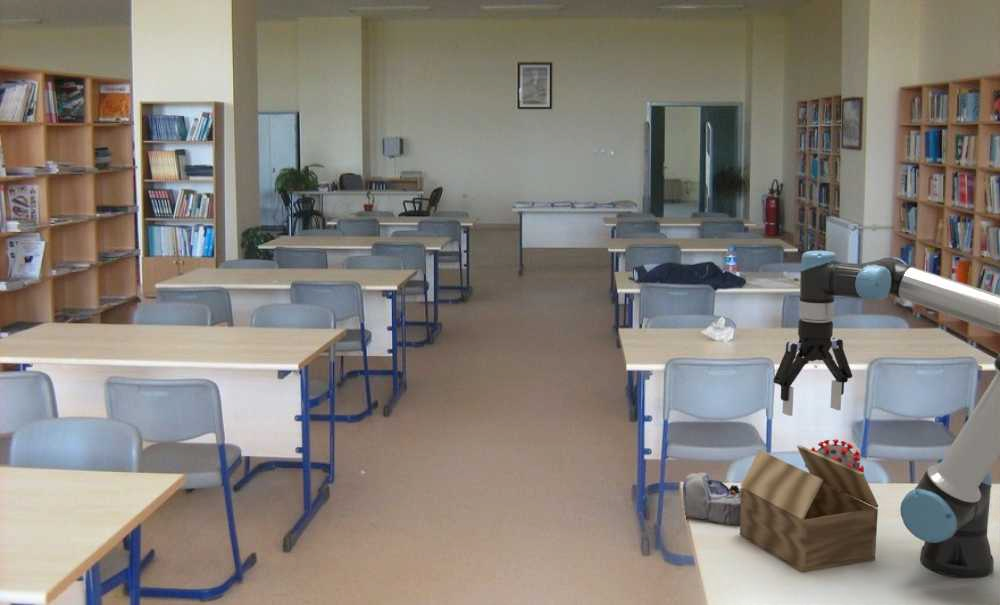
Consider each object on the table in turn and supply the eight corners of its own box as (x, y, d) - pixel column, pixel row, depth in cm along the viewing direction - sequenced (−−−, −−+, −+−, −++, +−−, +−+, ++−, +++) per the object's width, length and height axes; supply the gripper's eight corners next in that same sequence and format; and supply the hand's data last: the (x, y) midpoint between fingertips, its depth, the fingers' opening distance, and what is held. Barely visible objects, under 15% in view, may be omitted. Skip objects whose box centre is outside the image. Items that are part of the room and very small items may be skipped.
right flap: (876, 508, 247) (878, 506, 247) (861, 474, 244) (863, 472, 244) (811, 477, 268) (813, 476, 268) (796, 446, 265) (798, 444, 265)
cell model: (684, 465, 282) (764, 472, 278) (682, 505, 284) (761, 513, 280) (682, 481, 269) (765, 488, 265) (680, 523, 271) (763, 531, 267)
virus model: (873, 500, 288) (876, 445, 285) (822, 505, 284) (825, 449, 281) (842, 483, 301) (845, 430, 299) (793, 487, 298) (796, 434, 295)
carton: (874, 559, 249) (877, 509, 247) (801, 572, 241) (804, 520, 239) (808, 524, 271) (810, 477, 269) (739, 535, 263) (741, 487, 261)
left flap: (823, 479, 240) (821, 478, 240) (803, 519, 240) (801, 518, 240) (761, 450, 261) (759, 449, 261) (742, 487, 261) (740, 486, 261)
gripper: (849, 313, 255) (845, 402, 259) (759, 320, 247) (756, 412, 250) (871, 318, 249) (866, 410, 252) (779, 326, 240) (775, 420, 243)
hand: (811, 411), depth 251 cm, fingers open, 12 cm apart
